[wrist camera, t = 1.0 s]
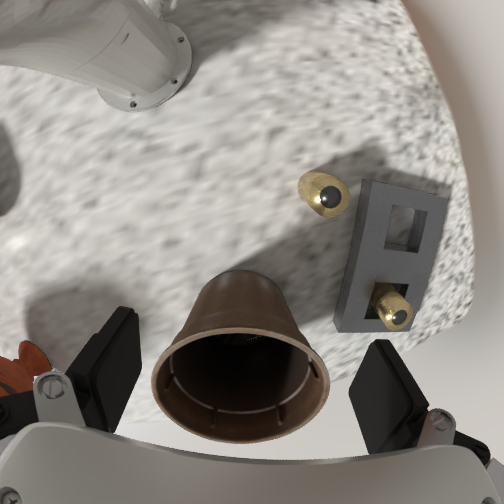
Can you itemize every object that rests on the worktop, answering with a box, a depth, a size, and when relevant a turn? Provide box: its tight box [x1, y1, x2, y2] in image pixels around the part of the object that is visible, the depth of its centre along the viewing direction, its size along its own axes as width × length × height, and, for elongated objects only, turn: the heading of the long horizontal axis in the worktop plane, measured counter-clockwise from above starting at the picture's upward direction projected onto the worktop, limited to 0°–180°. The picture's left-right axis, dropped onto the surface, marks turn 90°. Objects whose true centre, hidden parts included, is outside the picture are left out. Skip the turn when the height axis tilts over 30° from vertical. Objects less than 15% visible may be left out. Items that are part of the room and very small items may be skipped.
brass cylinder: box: [298, 171, 350, 218], centre depth 29 cm, size 4×4×7 cm
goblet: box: [0, 341, 51, 397], centre depth 31 cm, size 19×19×25 cm
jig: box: [333, 179, 448, 333], centre depth 33 cm, size 20×12×7 cm, turn 174°
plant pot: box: [151, 271, 330, 444], centre depth 31 cm, size 16×16×16 cm
